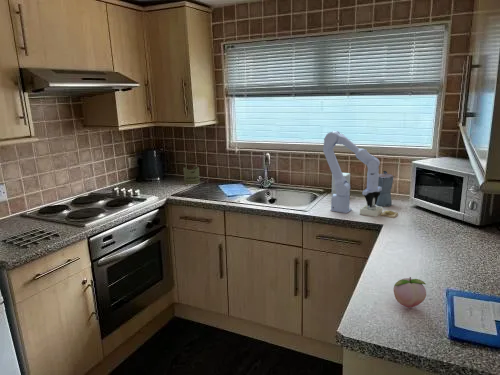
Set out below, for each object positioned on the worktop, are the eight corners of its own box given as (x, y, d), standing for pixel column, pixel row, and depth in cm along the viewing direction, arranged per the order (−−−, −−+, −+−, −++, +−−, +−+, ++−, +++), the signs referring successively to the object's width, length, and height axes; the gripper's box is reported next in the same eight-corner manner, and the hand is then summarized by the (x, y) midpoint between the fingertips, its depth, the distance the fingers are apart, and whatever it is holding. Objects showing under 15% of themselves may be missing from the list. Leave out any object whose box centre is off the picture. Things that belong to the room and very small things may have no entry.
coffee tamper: (373, 210, 203) (374, 199, 202) (365, 209, 206) (366, 197, 205) (377, 209, 206) (378, 197, 205) (369, 207, 209) (370, 195, 208)
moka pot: (373, 207, 217) (375, 172, 212) (375, 200, 231) (377, 167, 226) (391, 208, 214) (393, 173, 209) (392, 201, 228) (394, 168, 223)
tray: (359, 214, 206) (360, 208, 205) (365, 209, 213) (366, 204, 212) (376, 217, 201) (376, 211, 200) (382, 212, 208) (382, 207, 207)
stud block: (380, 215, 202) (380, 212, 202) (384, 212, 208) (384, 209, 208) (394, 218, 198) (394, 214, 198) (398, 214, 204) (398, 211, 203)
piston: (182, 167, 288) (197, 166, 292) (183, 183, 291) (198, 181, 295) (184, 170, 278) (200, 168, 281) (185, 186, 281) (201, 184, 284)
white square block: (350, 196, 241) (350, 173, 237) (345, 199, 234) (346, 175, 230) (336, 194, 246) (336, 171, 242) (331, 198, 238) (331, 174, 235)
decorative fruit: (413, 298, 122) (416, 269, 120) (429, 312, 115) (432, 281, 112) (386, 301, 121) (388, 272, 119) (400, 315, 113) (402, 284, 111)
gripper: (371, 184, 195) (369, 210, 198) (387, 179, 204) (385, 204, 207) (359, 182, 201) (358, 207, 204) (375, 177, 209) (374, 201, 213)
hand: (371, 205), depth 206 cm, fingers closed on coffee tamper, 3 cm apart
